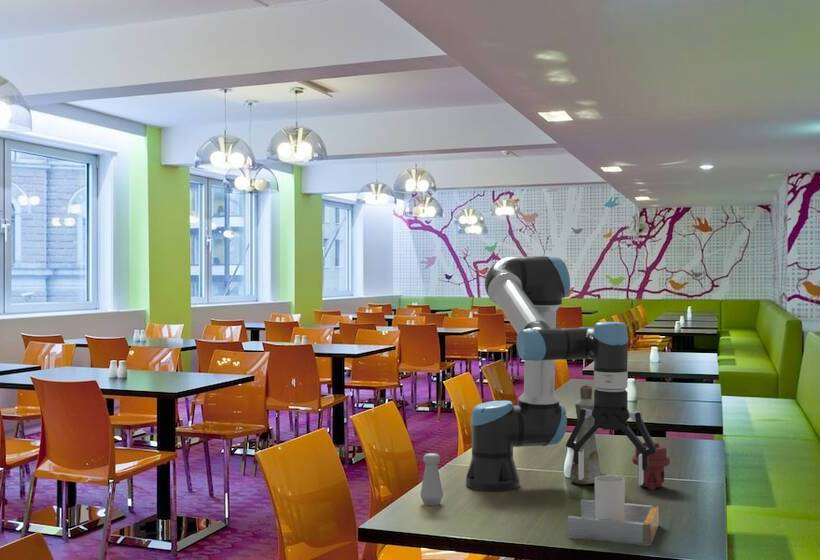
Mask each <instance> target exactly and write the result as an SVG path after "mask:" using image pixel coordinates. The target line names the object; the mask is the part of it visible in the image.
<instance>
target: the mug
mask: <svg viewBox="0 0 820 560" xmlns="http://www.w3.org/2000/svg"><path fill="white" fill-rule="evenodd" d="M625 481H626V479H625V478H624V477H621V476H619V475H611V474H610V475H609V474H605V475H602V474H601V476H597V477H595V484H594V501H595V514H596V518H597V519H608V520H619V521H624V506H625V503H626V502H625V497H626V496H625V495H626V493H625V492H626V491H625V490H626V489H625V488H626V485H625V483H626V482H625Z"/></svg>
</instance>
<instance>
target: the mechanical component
mask: <svg viewBox="0 0 820 560" xmlns="http://www.w3.org/2000/svg"><path fill="white" fill-rule="evenodd" d="M653 442H654V444H655V446H656V448H657V450H656V452H655V454H650V455H649V456H648V469H647V470H643V484H642V485H640V486H641V487H645V488H647V489H649V490H652V491H653V490H655V489H656V488H660V487H662V486H663V484H664V483H665V467H667V466H670V464H671V460H670V458H669V456H667V446H665V445H664V444H660V443H659V442H658V441H653ZM642 443H643V445H644V446H645V447H646V448H647V449H648V447H647V445H646V443H645V441H644V442H642ZM634 447H635V446H634ZM640 454H641V453H640V452H639V450H638V449H637V448H636V447H635V455H633V456H632V464H634V465H636V466H637V470H638V471H637V472H638V473H637V474H638V475H637V476H638V477H637V480H638V481H637V482H639V455H640Z"/></svg>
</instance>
